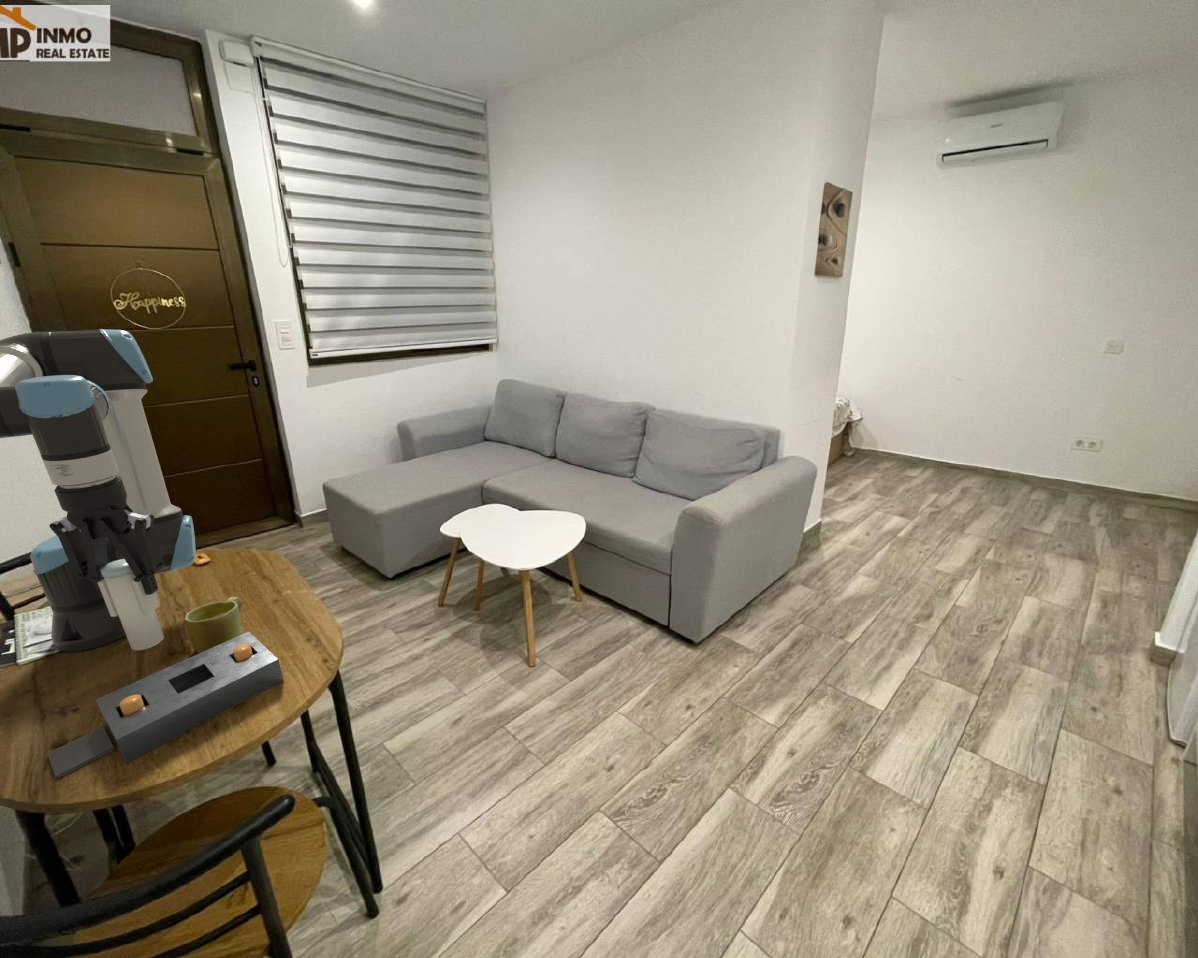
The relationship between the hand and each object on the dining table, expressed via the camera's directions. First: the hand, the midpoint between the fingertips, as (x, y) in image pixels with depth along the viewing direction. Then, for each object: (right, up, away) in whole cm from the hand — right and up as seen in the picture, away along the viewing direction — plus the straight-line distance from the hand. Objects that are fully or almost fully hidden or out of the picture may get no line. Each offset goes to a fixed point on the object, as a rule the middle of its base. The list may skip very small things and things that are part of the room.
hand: (135, 610), depth 87 cm
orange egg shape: (+8, -16, +16) cm, 24 cm away
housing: (+3, -19, +10) cm, 22 cm away
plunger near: (-2, -21, +4) cm, 22 cm away
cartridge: (0, -6, +2) cm, 6 cm away
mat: (-8, -23, -1) cm, 25 cm away
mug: (-5, -13, +27) cm, 31 cm away
